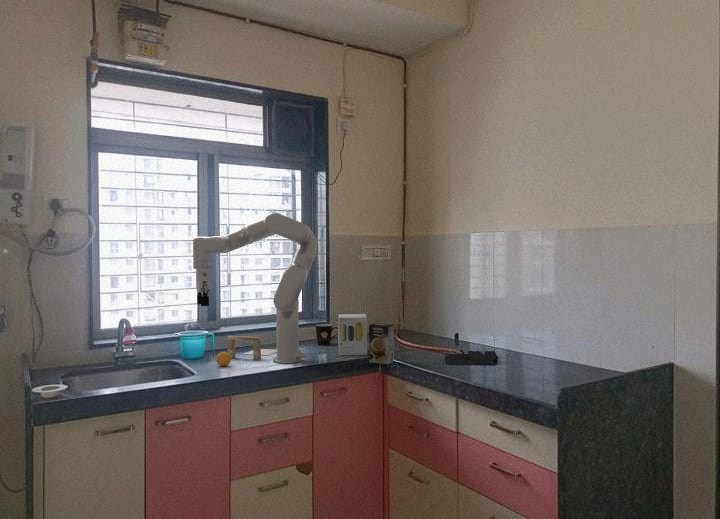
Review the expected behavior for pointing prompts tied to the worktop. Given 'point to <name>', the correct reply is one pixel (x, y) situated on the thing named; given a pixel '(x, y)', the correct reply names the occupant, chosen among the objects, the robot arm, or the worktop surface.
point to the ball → (223, 358)
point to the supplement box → (352, 334)
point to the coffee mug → (324, 334)
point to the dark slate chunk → (472, 358)
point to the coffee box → (381, 343)
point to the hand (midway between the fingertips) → (203, 305)
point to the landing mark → (263, 352)
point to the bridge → (255, 339)
